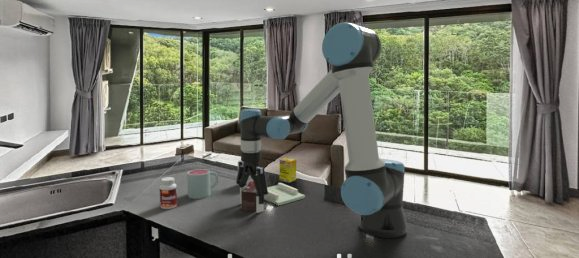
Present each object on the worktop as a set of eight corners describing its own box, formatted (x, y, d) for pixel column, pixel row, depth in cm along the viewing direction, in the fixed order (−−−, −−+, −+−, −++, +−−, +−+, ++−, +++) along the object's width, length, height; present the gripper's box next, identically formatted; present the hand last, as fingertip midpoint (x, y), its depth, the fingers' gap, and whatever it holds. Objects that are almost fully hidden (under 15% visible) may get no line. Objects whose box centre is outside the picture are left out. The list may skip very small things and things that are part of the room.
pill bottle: (160, 210, 122) (159, 182, 121) (159, 205, 128) (158, 177, 126) (178, 208, 125) (177, 180, 123) (176, 202, 130) (175, 175, 129)
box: (256, 211, 122) (256, 192, 121) (241, 210, 123) (241, 191, 122) (261, 205, 128) (261, 187, 127) (246, 204, 129) (246, 186, 128)
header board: (304, 198, 136) (304, 190, 136) (278, 205, 128) (278, 198, 127) (278, 187, 150) (278, 180, 150) (252, 193, 141) (252, 186, 141)
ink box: (258, 184, 154) (258, 159, 153) (255, 187, 150) (255, 162, 148) (241, 183, 156) (240, 158, 154) (237, 186, 151) (237, 161, 149)
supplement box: (279, 181, 158) (279, 159, 157) (286, 178, 163) (286, 157, 161) (289, 184, 155) (289, 161, 153) (296, 181, 160) (296, 159, 158)
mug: (194, 200, 133) (193, 176, 132) (184, 194, 140) (183, 171, 138) (224, 193, 142) (223, 170, 141) (213, 187, 149) (212, 166, 147)
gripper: (278, 154, 116) (277, 214, 119) (243, 144, 134) (243, 196, 137) (260, 157, 111) (260, 219, 114) (226, 147, 129) (227, 200, 132)
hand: (251, 207), depth 126 cm, fingers open, 11 cm apart
